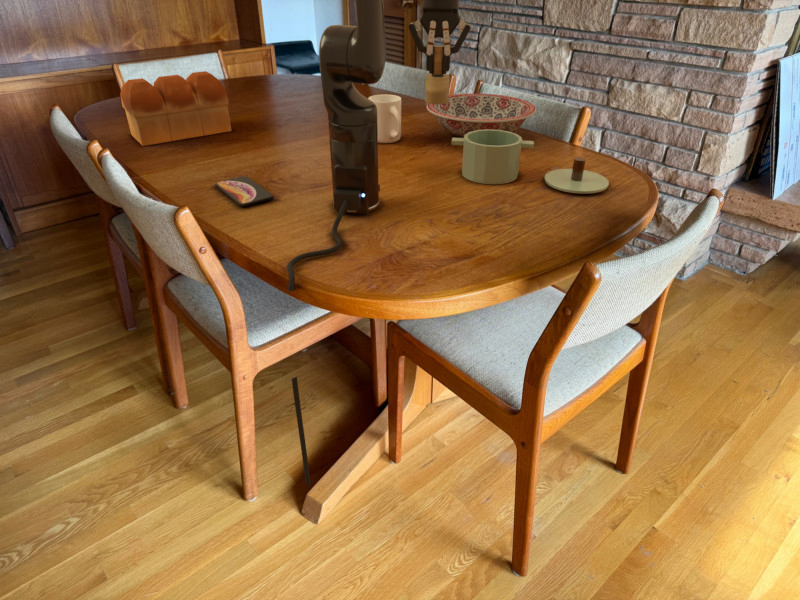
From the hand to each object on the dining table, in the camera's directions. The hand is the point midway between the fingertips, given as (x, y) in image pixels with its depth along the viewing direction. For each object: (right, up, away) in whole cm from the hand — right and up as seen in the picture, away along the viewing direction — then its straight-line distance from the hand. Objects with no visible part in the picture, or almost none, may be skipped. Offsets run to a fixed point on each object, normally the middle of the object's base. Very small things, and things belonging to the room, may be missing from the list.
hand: (437, 72), depth 125 cm
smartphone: (-42, -27, -3) cm, 50 cm away
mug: (-11, -7, +28) cm, 31 cm away
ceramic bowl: (+13, -5, +32) cm, 35 cm away
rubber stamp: (0, -5, +3) cm, 6 cm away
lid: (+31, -24, +1) cm, 39 cm away
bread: (-69, -4, +34) cm, 77 cm away
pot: (+12, -21, +7) cm, 25 cm away
